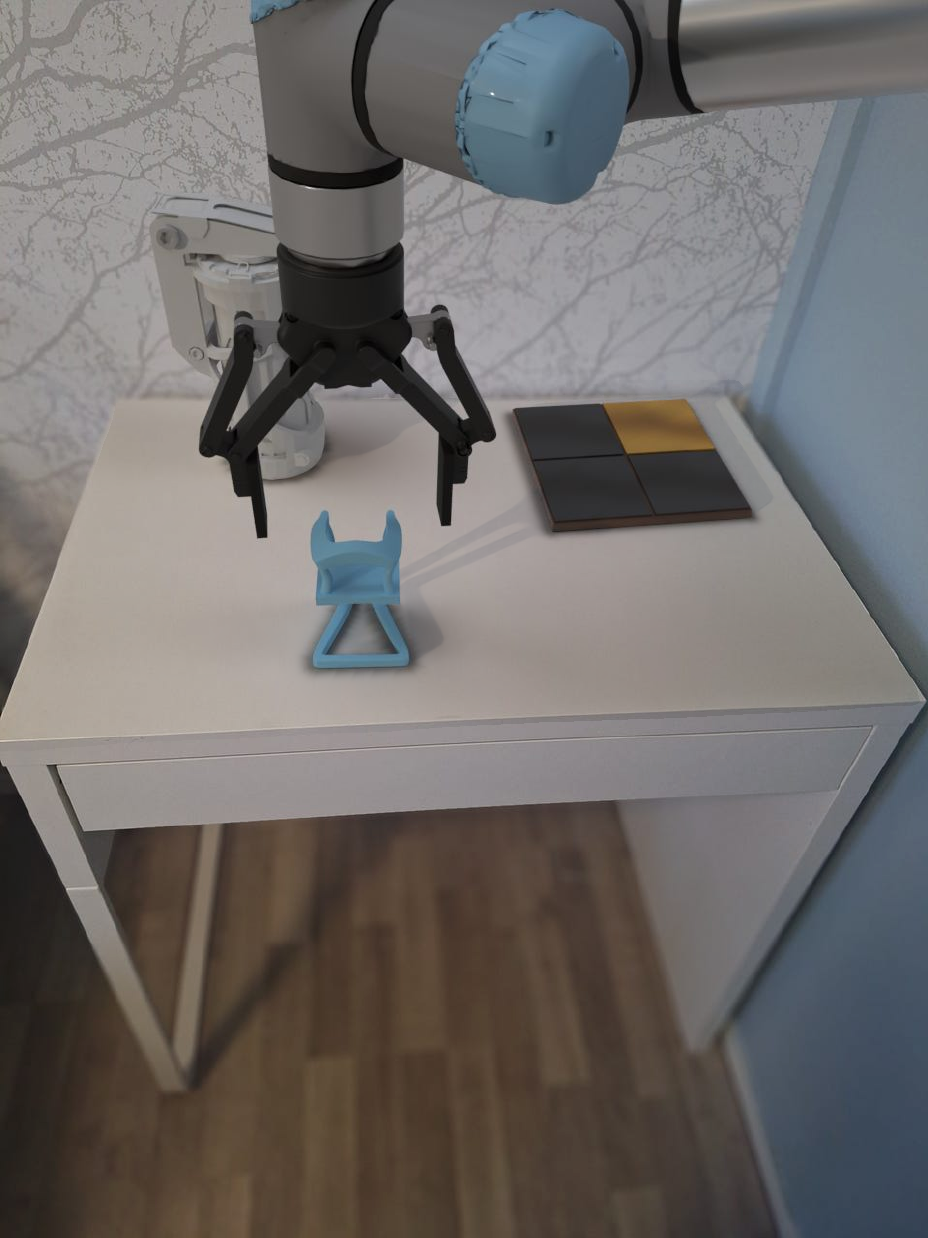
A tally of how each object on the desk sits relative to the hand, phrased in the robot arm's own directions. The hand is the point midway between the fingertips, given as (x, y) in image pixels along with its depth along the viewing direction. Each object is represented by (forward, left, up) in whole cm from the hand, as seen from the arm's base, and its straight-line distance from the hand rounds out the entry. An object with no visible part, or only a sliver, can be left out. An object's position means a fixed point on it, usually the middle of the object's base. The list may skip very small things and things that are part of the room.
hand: (354, 521), depth 69 cm
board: (+21, -29, -12) cm, 38 cm away
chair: (0, 0, -12) cm, 12 cm away
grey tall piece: (+27, +8, -12) cm, 30 cm away
